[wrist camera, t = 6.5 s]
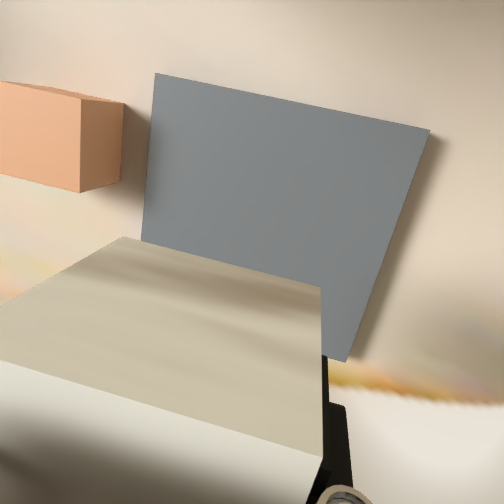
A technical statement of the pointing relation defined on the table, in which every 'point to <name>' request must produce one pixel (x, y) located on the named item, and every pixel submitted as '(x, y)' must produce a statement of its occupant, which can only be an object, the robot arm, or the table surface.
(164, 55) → the table surface
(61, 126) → the terracotta block
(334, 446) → the robot arm
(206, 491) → the cream block
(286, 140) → the base board
